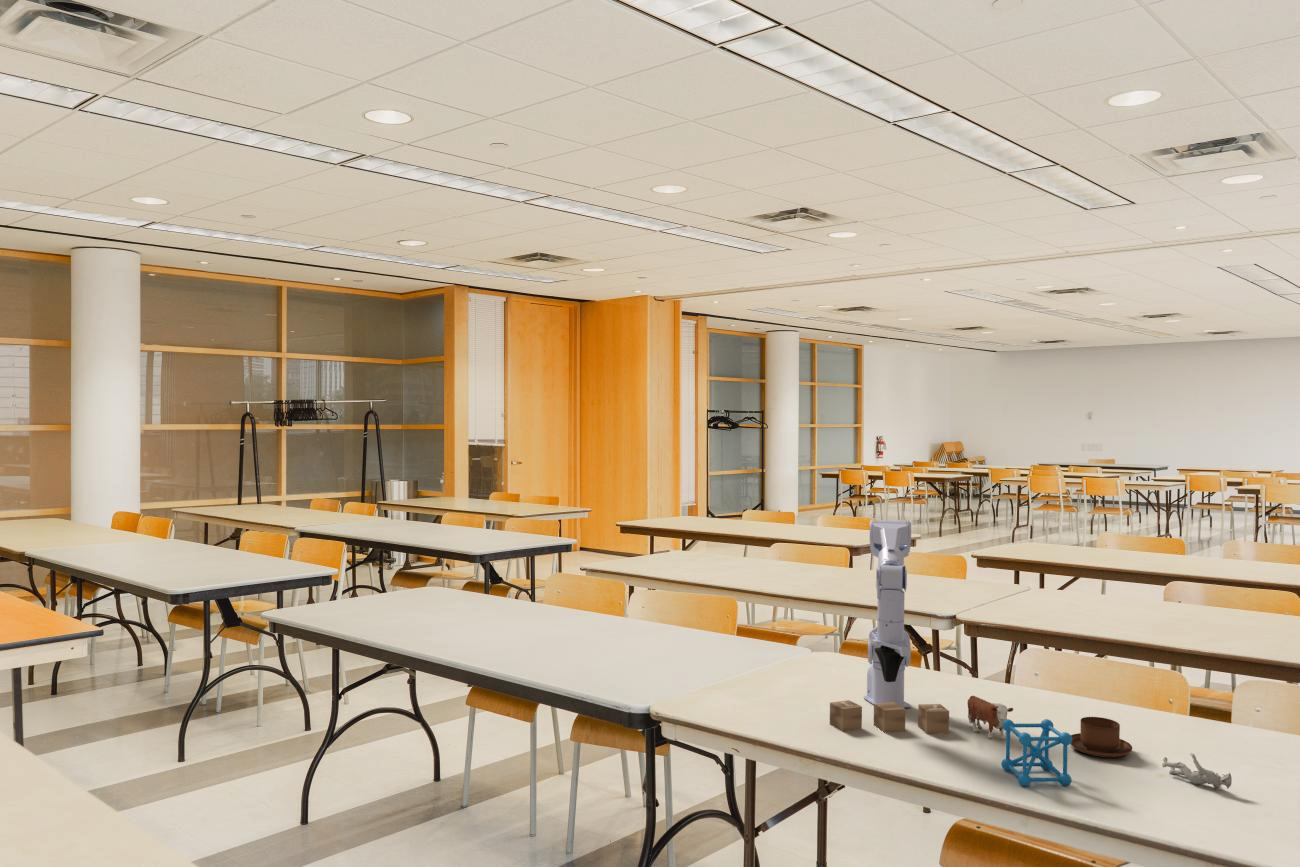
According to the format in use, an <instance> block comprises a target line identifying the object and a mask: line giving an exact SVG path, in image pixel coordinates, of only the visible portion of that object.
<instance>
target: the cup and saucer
mask: <svg viewBox="0 0 1300 867" xmlns="http://www.w3.org/2000/svg"><path fill="white" fill-rule="evenodd" d="M1120 726H1121V725H1120V723H1119V722H1117V721H1116V720H1113V719H1111V718H1106V717H1098V716H1084V717H1082V718H1081V719H1080V732H1079V733H1075V734H1074V733H1073V734H1070V735H1071V736H1072V743H1071V744H1070V746H1071V747H1072V748H1074V749H1075V750H1077V751H1079V752H1081V753H1083V754H1085V755H1088V756H1093V757H1101V758H1121V757H1125V756H1127V755H1129V754H1130V753H1131V752H1132V750H1133V745H1131V743H1129V742H1128V741H1126V740H1124V739H1122V738H1120V736H1121V735H1120V733H1121V732H1120V729H1121V727H1120Z"/></svg>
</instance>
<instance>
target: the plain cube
mask: <svg viewBox="0 0 1300 867" xmlns="http://www.w3.org/2000/svg"><path fill="white" fill-rule="evenodd" d="M873 726H874V727H875V726H876V727H875V728H877V729H878V728H879V729H880V730H879V729H878V730H879V731H881V732H882V731H883V732H882V733H883V734H885V732H888V733H899V732H900V733H901V731H902V732H906V708H903V707H902V706H900V705H898V704H897V703H895V702H888V703H874V705H873Z"/></svg>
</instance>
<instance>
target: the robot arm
mask: <svg viewBox="0 0 1300 867" xmlns="http://www.w3.org/2000/svg"><path fill="white" fill-rule="evenodd" d="M911 544H912V522H911V521H910V520H908V519H907V520H896V519H895V520H894V519H893V520H892V519H891V520H889V519H874V518H872V519H871V520H870V521H869V545H870V546H869V550H870V552H871V553H870V554H871V555H873V556H874V557H876V558H877V567H876V569H875V570H876V571H875V572H876V573H875V588H876V598H877V614H876V615H877V618H876V619H877V623H876V624H877V625H876V626H875V627H874V628H872V629H870V632H869V633H868V640H867V662H868V663H869V665H870V666H869V667H868V669H867V672H866V695H863V697H862V698H864V699H865V701H868V702H869V703H870V704H872V705H873V706H874V703H888V702H895V703H897V704H898V705H900V706H902V707H903V708H905V709H906V708H912V705H911V704H910V703H908V702H906V701H905V671H906V667H907V668H909V666H910V665H911V657H912V656H911V654H912V652H911V650H912V648H911V637H910V636H911V635H909V633H908V631H906V630H905V593H906V591H907V588H908V587H907V586H908V584H907V583H908V570H907V567H906V564H905V558H906V557H909V553H910V552H911Z"/></svg>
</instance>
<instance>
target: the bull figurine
mask: <svg viewBox="0 0 1300 867" xmlns="http://www.w3.org/2000/svg"><path fill="white" fill-rule="evenodd" d="M967 709H968V711H967V712H968V714H967V718H968V721H969V723H970V725H971V724H972V730H973V732H974V733H979V729H983V727H982V725H981V723H980V721H981V722H983V725H986V724H988V730H989V732H988V734H987V737H988V739H989V740H993V739H994V736H993V731H994V728H995V729H996V730H999V732H1000V736H999V737H1000V739H1001V740H1002V741H1006V735H1005V733H1004V731H1005V730H1004V729H1003V728H1002V722H1003V721H1004V720H1006V719H1008V713H1011V712H1013V711H1014V708H1013V707H1007V706H1006V705H1004V704H1002V703H999V702H998V703H995V702H993V703H992V702H989V701H987V700H985V699H982V698H980V697H979V696H975V695H971V696H970V697H969V698H968V699H967Z"/></svg>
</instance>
